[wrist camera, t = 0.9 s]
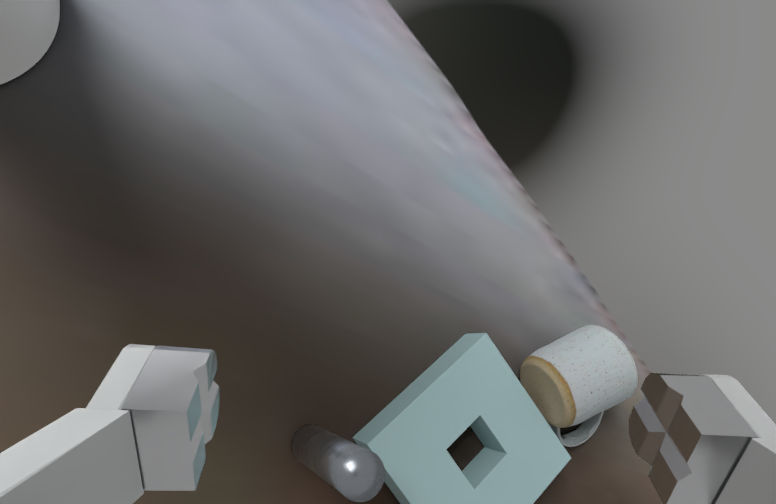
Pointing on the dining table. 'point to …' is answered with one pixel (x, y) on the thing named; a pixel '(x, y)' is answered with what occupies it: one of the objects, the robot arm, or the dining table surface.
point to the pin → (339, 462)
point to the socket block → (451, 418)
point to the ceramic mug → (579, 380)
